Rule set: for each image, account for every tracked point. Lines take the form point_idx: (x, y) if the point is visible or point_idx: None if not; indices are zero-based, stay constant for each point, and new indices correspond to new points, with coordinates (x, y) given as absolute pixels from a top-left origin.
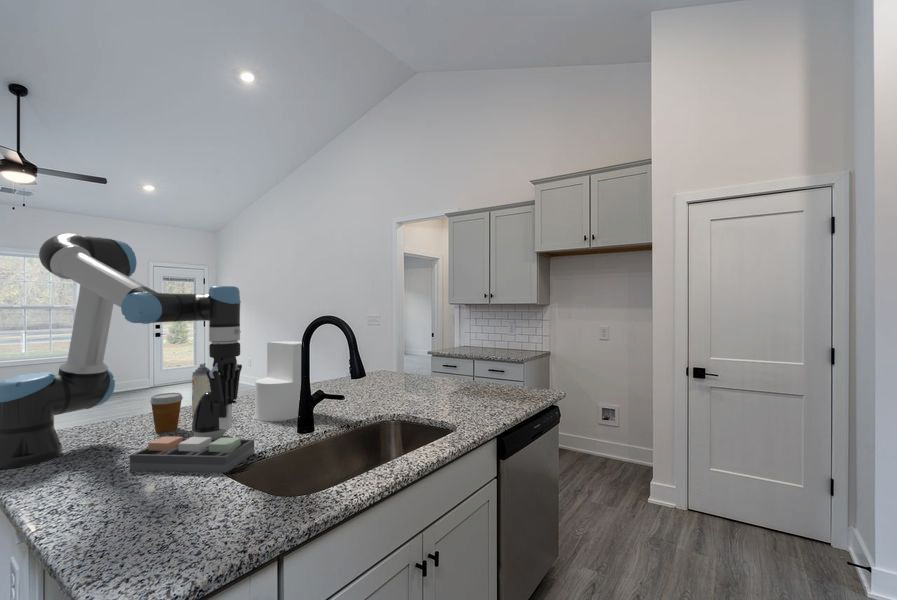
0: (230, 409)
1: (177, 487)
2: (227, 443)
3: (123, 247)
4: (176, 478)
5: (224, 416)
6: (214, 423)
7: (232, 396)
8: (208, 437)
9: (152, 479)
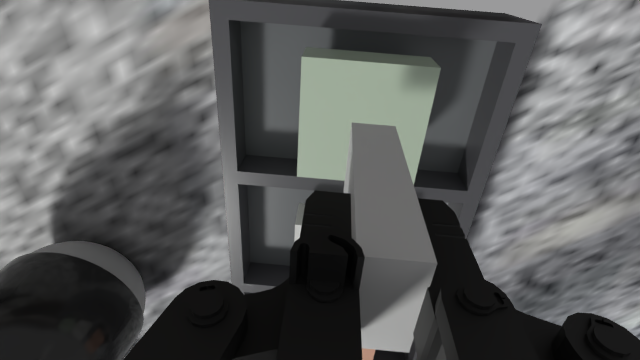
0: (383, 214)
1: (619, 141)
2: (417, 87)
3: None
4: (514, 189)
5: (441, 207)
6: (87, 300)
7: (313, 354)
8: (297, 235)
9: (501, 254)
